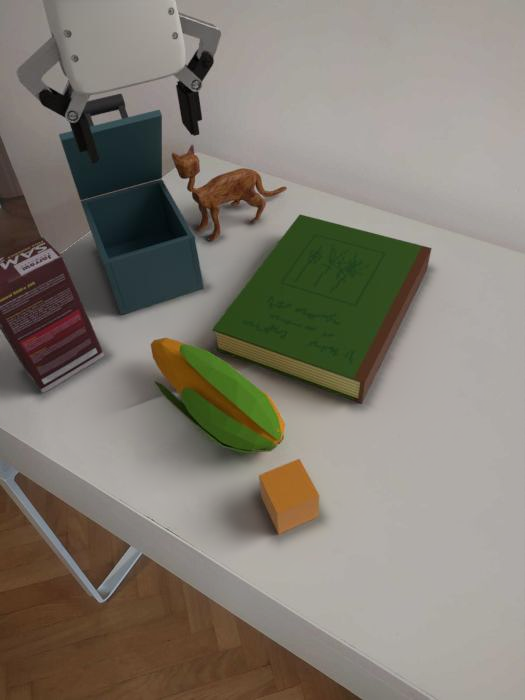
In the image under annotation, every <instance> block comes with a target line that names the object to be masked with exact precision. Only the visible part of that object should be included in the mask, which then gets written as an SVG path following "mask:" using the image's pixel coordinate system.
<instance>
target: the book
mask: <svg viewBox="0 0 525 700" xmlns="http://www.w3.org/2000/svg"><path fill="white" fill-rule="evenodd" d="M432 249H433V248H432V247H428V246H426V245H421V244H417V243H413V242H409V241H405V240H401V239H397V238H394V237H390V236H386V235H383V234H379V233H374V232H370V231H366V230H364V229H363V230H362V229H359V228H355V227H350V226H346V225H343V224H340V223H335V222H331V221H327V220H323V219H320V218H317V217H316V218H315V217H312V216H308V215H305V214H299V215H297V217H296V219H295V220H294V221H293V222H292V224H291V225H290V226H289V227H288V229H287V230H286V231H285V233H284V234H283V235H282V237H281V238H280V239H279V241H278V242H277V244H276V245H275V246H274V247H273V249H272V250H271V251H270V252H269V254H268V255H267V257H266V258H265V259H264V260H263V261H262V263H261V264H260V265H259V267H258V268H257V269H256V271H255V272H254V273H253V275H252V276H251V277H250V279H249V280H248V281H247V283H246V284H245V285H244V286H243V288H242V289H241V291H239V293H238V294H237V296H236V297H235V298H234V299H233V301H232V302H231V304H229V306H228V308H227V309H226V310H225V311H224V313H223V314H222V316H220V318H219V319H218V321H217V322H216V323H215V325H214V326H213V327H212V329H211V330H212V331H213V332H215V337H216V342H217V346H216V348H215V351H217V352H220V353H223V354H225V355H228V356H230V357H233V358H236V359H238V360H241V361H244V362H247V363H250V364H253V365H255V366H258V367H261V368H264V369H265V370H266V369H267V370H269V371H272V372H275V373H277V374H280V375H283V376H285V377H288V378H291V379H294V380H297V381H299V382H303V383H304V384H306V385H307V384H308V385H310V386H313V387H316V388H318V389H320V390H321V389H322V390H324V391H327V392H330V393H332V394H335V395H338V396H341V397H343V398H346V399H348V400H351V401H354V402H357V403H360V404H363V403H364V400H365V399H366V397H367V395H368V392H369V390H370V388H371V386H372V384H373V383H374V381H375V378H376V376H377V374H378V373H379V370H380V367H381V366H382V363H383V361H384V360H385V357H386V355H387V353H388V351H389V349H390V347H391V345H392V343H393V341H394V339H395V337H396V335H397V332H398V331H399V328H400V327H401V325H402V322H403V321H404V319H405V317H406V314H407V313H408V310H409V308H410V306H411V304H412V302H413V301H414V298H415V296H416V293H417V292H418V289H419V287H420V285H421V283H422V281H423V280H424V277H425V275H426V273H427V271H428V268H429V262H430V258H431V253H432Z"/></svg>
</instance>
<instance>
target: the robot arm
mask: <svg viewBox="0 0 525 700" xmlns="http://www.w3.org/2000/svg"><path fill="white" fill-rule="evenodd" d="M42 3H43V8H44V12H45V15H46V20H47V24H48V28H49V31H50V35H51V37H50V38H49V39H48V40H47V41H46V42H45V43H43V44H42V45H41V46H40V47H39V48H38V49H37V50H36V51H35V52H34V53H32V54H31V56H29V57H28V58H27V59H26V60H25V61H24V62H23V63H21V65H20V66H18V68H17V69H16V76H17V78H18V81H19V83H20V84H21V85H22V86H23V87H24V88H25V89H26V90H27V91H29V92H30V94H31V95H32V96H33V97H34V98H36V99H37V100H38V102H40V104H41V105H42V106H43V107H45V108H46V109H49V110H50V111H52V112H54V113H55V114H57V115H59V116H61V117H63V118H64V119H65V120H66V121H67V122H68V123H69V126H70V130H71V131H72V132H73V135H74V138H75V142H76V144H77V147H78V150H79V152H84V151H87V154H88V156H89V158H90V160H91V162H92V164H93V163H96V162H98V160H99V156H98V153H97V149H96V146H95V143H94V139H93V136H92V133H91V129H90V126H89V123H88V120H87V118H86V116H85V114H84V112H83V110H84V108H85V106H86V103H87V101H89V99H90V96H94V95H95V96H96V95H100V94H105V93H110V92H113V91H119V90H122V89H126V88H130V87H134V86H138V85H142V84H147V83H150V82H154V81H158V80H162V79H166V78H169V77H171V76H172V77H173V76H174V77H175V78H176V79H177V81H176V85H175V89H176V95H177V100H178V106H179V112H180V113H179V114H180V118H181V119H180V120H181V122H182V125H183V126H184V127H185V129H186V130H187V131H188V132H189V134H190V136H193V137H195V136H199V135H200V127H199V122H201V121H203V115H202V114H203V113H202V107H201V99H200V94H199V92H200V91H201V90H202V88H203V81H204V79H205V78H206V76H208V74H209V72H210V70H211V69H212V67H213V66H214V63H215V59H214V58H215V55H216V53H217V50H218V47H219V43H220V40H221V37H222V32H221V30H220V29H219V28H218V27H217V26H216V25H214V24H213V23H210V22H207V21H205V20H202V19H199V18H196V17H194V16H191V15H187V14H185V13H182V12H179V11H178V6H177V2H176V0H42ZM184 35H187V36H190V37H192V38H196V39H199V42H198V48H197V49H196V51H195V52H194V54H193V55H192V57H191V59H190V60H189V62H188V63H187V64H186V62H187V56H186V55H187V54H186V44H185V40H184ZM57 63H59V66H60V67H61V71H62V73H63V75H64V76H65V77H66V78H67V79H68V80H67V82H66V84H65V87H64V89H63V91H62V93H60V92H59V91H57V90H55V89H54V88H52V87H50V86H49V85H47V84H46V83H45V82H44V80H42V79H43V76H44V75H45V74H47V73H48V72H49V71H50V70H52V68H53V67H54V66H55V65H56V64H57Z"/></svg>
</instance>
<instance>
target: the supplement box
mask: <svg viewBox="0 0 525 700" xmlns="http://www.w3.org/2000/svg"><path fill="white" fill-rule="evenodd" d="M0 331H1V333H2V334H3V336H4V337H5V339H6V341H7V343H8V344H9V346H10V348H11V349H12V351H13V353H14V354H15V356H16V358H17V359H18V361H19V363H20V364H21V366H22V368H23V370H24V371H25V372H26V374H27V375H28V376H29V377H30V379H31V380H32V381H33V382H34V384H35V385H36V386H37V388H38V389H39V390H40V393H42V394H44V393H46V392H48V391H49V390H51V389H52V388H54V387H55V386H58V385H59V384H60V383H62V382H64V381H66V380H67V379H69V378H71V377H73V376H74V375H76V374H77V373H79V372H81V371H82V370H84V369H86V368H87V367H89V366H91V365H92V364H94V363H96V362H97V361H99V360H101V359H103V358H104V357H105V353H104V352H103V348H102V346H101V343H100V341H99V339H98V336H97V334H96V331H95V330H94V326H93V325H92V323H91V320H90V318H89V314H88V312H87V309H85V306H84V304H83V301H82V298H81V297H80V295H79V292H78V290H77V287H76V285H75V283H74V281H73V278H72V276H71V273H70V271H69V269H68V267H67V264H66V261H65V260H64V256H63V255H62V254H61V253H60V252H59V251H58V250H56V249H55V248H54V246H53V245H51V244H50V243H49V241H48V240H46V238H44V236H43V237H40V238H37V239H36V240H34V241H31V242H30V243H27V244H25V245H23V246H21V247H19V248H17V249H15V250H13V251H10V252H9V253H7V254H4V255H2V256H1V257H0Z"/></svg>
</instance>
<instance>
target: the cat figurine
mask: <svg viewBox="0 0 525 700" xmlns="http://www.w3.org/2000/svg"><path fill="white" fill-rule="evenodd" d="M194 147H195V146H194V144H191V145H190V147H189V148H188V151H187V153H184V154H182V155H179V154H177V153H176V152H172V153H171V158H172V161H173V163H174V166H175V169H176V171H177V174H178V176H179V178H181V179H182V180H183V179H184V180H187V179H188V183H187V186H186V189H187V191H188V192H190V193H191V197H192V200H193V201H194V202H195V203H196V204H197V206H198V209H199V212H200V214H201V219H200V222H199V224H198V225H197V226H196V227H195V229H196V230H197V231H198V232H199V231H204V229H205V228H207V226H208V225H209V214H210V218H211V221H212V223H213V230H212V233H211V235H210V236H208V237H207V240H208V241H209V242H212V241H214V240H216V239H217V238H218V237H219V236H220V233H221V224H220V219H219V214H220V205H223V204H226V203H229V202H230V206H231V207H236V206H238V205H240V203H241V201H243V202H245V203H246V204H248V205H249V206H251V207H252V208H257V209H256V213H255V217H253V218H252V219H251V222H253V223H255V222H257V221H259V220H260V218H261V215H262V214H263V212H264V210H265V208H266V205H267V202H266V200H265V199H264V198H272V197H275V196H277V195H279V194H281V193H283V192H285V191H286V190H287V189H288V187H287V186H281V187H279V188H277V189H274V190H269V191H268V190H265V188H264V186H263V180H262V177H261V174H260V173H259V172H258V171H256V170H254V169H250V168H245V167H243V168H237V169H235V170H231V171H228V172H225V173H222V174H219V175H217V176H215V177H213V178H211V179H210V180H208V182H207V183H205V184H204V185H202V186H199V187H197V188H195V183H196V176H197V175H198V174H199V173H200V172H201V166H200V165H201V164H200V159H199V156H197V155H196V154H195V148H194ZM255 188H256V189H255ZM256 190H257V191H256ZM263 197H264V198H263ZM208 210H209V212H208Z"/></svg>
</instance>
